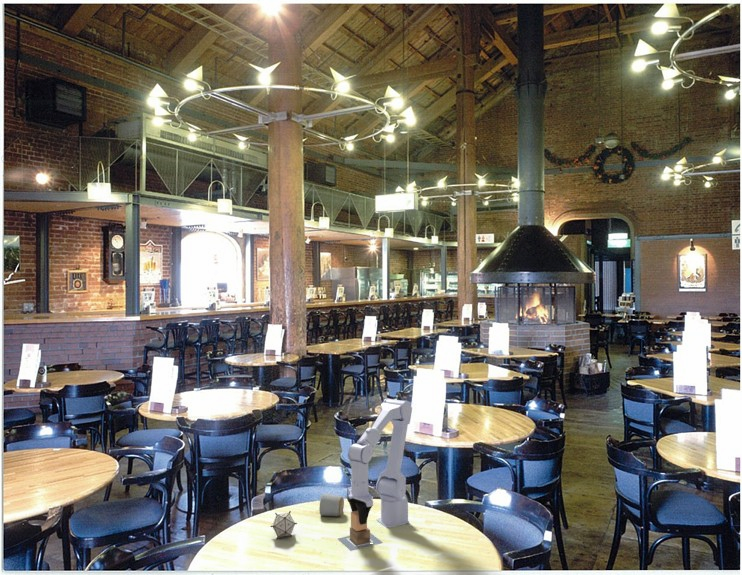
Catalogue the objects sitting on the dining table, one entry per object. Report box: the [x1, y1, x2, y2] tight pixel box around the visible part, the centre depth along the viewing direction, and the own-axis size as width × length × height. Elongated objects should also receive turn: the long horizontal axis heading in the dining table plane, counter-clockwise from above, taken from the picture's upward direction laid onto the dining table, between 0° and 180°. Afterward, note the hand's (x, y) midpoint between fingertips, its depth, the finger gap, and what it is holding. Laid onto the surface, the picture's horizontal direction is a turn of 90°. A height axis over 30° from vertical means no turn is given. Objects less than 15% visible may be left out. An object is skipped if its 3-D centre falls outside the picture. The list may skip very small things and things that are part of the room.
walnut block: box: [349, 526, 371, 545], centre depth 183 cm, size 5×5×4 cm
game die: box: [269, 510, 298, 540], centre depth 186 cm, size 9×8×10 cm
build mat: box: [337, 532, 384, 552], centre depth 182 cm, size 12×10×1 cm
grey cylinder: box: [319, 493, 345, 517], centre depth 206 cm, size 11×8×8 cm
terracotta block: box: [350, 510, 368, 531], centre depth 182 cm, size 4×4×5 cm
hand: (359, 521), depth 183 cm, fingers closed on terracotta block, 4 cm apart
